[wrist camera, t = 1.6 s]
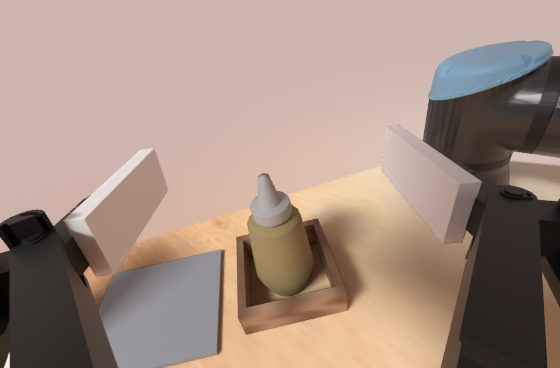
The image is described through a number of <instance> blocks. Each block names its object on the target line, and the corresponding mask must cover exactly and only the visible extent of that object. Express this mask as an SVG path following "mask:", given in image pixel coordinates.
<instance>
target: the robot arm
mask: <svg viewBox="0 0 560 368" xmlns="http://www.w3.org/2000/svg"><path fill="white" fill-rule="evenodd" d="M552 54H553V50H552V46H551V44H550V43H548V42H544V41H529V42H527V41H514V42H505V43H499V44H492V45H487V46H482V47H478V48H474V49H470V50H466V51H464V52H460V53H457V54H455V55H453V56H451V57H449V58H447V59H446V60H444V61H443V62H442V63H441V64H440V65H439V66H438V67H437V69H436V71H435V74H434V78H433V83H432V87H431V91H430V92H429V95H428V97H429V104H428V111H427V117H426V124H425V130H424V137H423V141H422V140H420V139H419V138H418V137H416V136H415V135H413V134H412V133H410V132H409V131H407V130H406V129H404V128H403V127H401V126H400V125H394V126H386V129H385V138H384V146H383V155H382V164H381V171H382V172H383V173H384V174H385V176H386V177H387V178H388V179H389V180H390V182H391V183H392V184H393V185H394V186H395V188H396V189H397V190H398V191H399V192H400V193H401V195H402V196H403V197H404V198H405V199H406V201H407V202H408V203H409V204H410V205H411V207H412V208H413V209H414V210H415V211H416V213H417V214H418V215H419V216H420V217H421V219H422V220H423V221H424V222H425V223H426V225H427V226H428V227H429V228H430V229H431V231H432V232H433V233H434V234H435V235H436V237H437V238H438V239H439V240H440V241H441V242H442V244H448V243H459V242H462V241H463V238H464V235H465V232H466V230H467V231H468V232H469V233H470V234H471V235H472V236H473V238H472V241H471V244H470V247H469V250H468V253H467V255H466V258H465V259H467V261H466V265H465V269H464V273H463V277H462V282H461V286H460V290H459V294H458V298H457V302H456V307H455V311H454V315H453V319H452V323H451V327H450V332H449V336H448V340H447V344H446V348H445V352H444V357H443V361H442V365H441V368H547V354H546V336H545V319H544V301H543V283H542V272H543V274H544V276H545V278H546V280H547V282H548V284H549V286H550V288H551V291H552V293H553V295H554V297H555V299H556V301H557V303H558V305H559V307H560V199H559V201H546V200H538V199H537V197H536V195H534V194H533V193H531V192H530V191H527V190H525V189H523V188H519V187H515V186H510V185H509V161H510V158H511V156H512V153H513V151H514V152H522V153H529V154H538V155H544V156H551V157H558V158H560V56H552ZM167 191H168V188H167V185H166V182H165V179H164V176H163V173H162V170H161V167H160V164H159V161H158V158H157V155H156V152H155V149H154V148H152V149H142V150H140V151H139V152H138V153H137V154H135V155H134V156H133V157H132V158H131V159H130V160H129V161H128V162H127V163H126V164H124V165H123V166H122V167H121V168H120V169H119V170H118V171H117V172H116V173H115V174H114V175H112V176H111V177H110V178H109V179H108V180H107V181H106V182H105V183H104V184H103V185H101V186H100V187H99V188H98V189H97V190H96V191H95V192H94V193H93V194H92V195H90V196H89V197H87V198H85V199H83V200H82V201H81V202H80V203H79V204H78V205H77V206H76V207H75V208H74V209H72V210H71V211H70V213H68V214H67V215H66V216H65V217H63V218H62V219H61V220H60V221H59V222H58V223H57V224H56V225H55V226H53V225H52V223H51V222H50V220H49V218H48V217H47V215H46V214H45V212H44V211H43V210H30V211H26V212H23V213H20V214H18V215H15V216H12V217H10V218H9V219H7V220H5V221H3V222H2V223H1V224H0V237H1V239H2V240H3V241H4V243H6V245H7V246H8V248H9V249H10V251H7V252H3V253H0V368H4V367H5V364H6V361H7V358H8V355H9V352H10V368H118V365H117V363H116V360H115V357H114V354H113V351H112V348H111V346H110V343H109V340H108V337H107V334H106V331H105V328H104V326H103V323H102V320H101V317H100V314H99V311H98V309H97V306H96V303H95V300H94V297H93V294H92V292H91V289H90V286H89V283H88V280H87V278H86V277H85V275H84V274H83V273H84V272H85V270H86V269H87V268H88V266H90V268H91V269H92V271H93V273H94V274H95V276H104V275H115V273H116V272H117V270H118V269H119V267H120V266H121V264H122V262H123V261H124V259H125V258H126V256H127V254H128V253H129V251H130V250H131V248H132V247H133V245H134V243H135V242H136V240H137V239H138V237H139V236H140V234H141V232H142V231H143V229H144V228H145V226H146V224H147V223H148V221H149V220H150V218H151V217H152V215H153V213H154V212H155V210H156V209H157V207H158V205H159V204H160V202H161V201H162V199H163V198H164V196H165V194H166V193H167Z"/></svg>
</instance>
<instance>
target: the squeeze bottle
mask: <svg viewBox="0 0 560 368" xmlns="http://www.w3.org/2000/svg"><path fill="white" fill-rule="evenodd" d="M250 209H251V213H252V215H251V216H250V217H249V220H248V223H247V225H248V230H249V236H250V241H251V246H252V252H253V257H254V262H255V267H256V272H257V276H258V277H259V279H260V280H261V281H262V282H263V283H264V284H265V285H266V286H267V287H268V288H269V289H271V290H272V291H273V292H274V293H276V294H278V295H280V296H292V295H295V294H298V293H299V292H300V291H302V290H303V289H304V288H305V286H306V284H307V282H308V280H309V277H310V275H311V272H312V270H313V261H314V257H313V254H312V251H311V248H310V244H309V241H308V238H307V234H306V231H305V228H304V225H303V221H302V218H301V215H300V213H299V211H298V209H297V208H296V207H294V206H293V205H291V203H290V199H289V197H288V195H286V194H284V193H283V192H280V191H276V189H275V187H274V185H273V183H272V181H271V179H270V177H269V175H268V174H261V175H259V176H258V196H257V197H255V199H254V200H253V201H252V202H251V205H250Z"/></svg>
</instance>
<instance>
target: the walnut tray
mask: <svg viewBox="0 0 560 368" xmlns="http://www.w3.org/2000/svg"><path fill="white" fill-rule="evenodd" d="M303 225H304V228H305V231H306V234H307V238H308V241H309V243H313V242H316V245H317V248H318V250H319V253H320V256H321V259H322V262H323V265H324V268H325V271H326V273H327V276H328V279H329V282H330V285H331V288H328V289H324V290H320V291H315V292H311V293H307V294H303V295H298V296H294V297H290V298H286V299H282V300H277V301H273V302H269V303H265V304H260V305H256V306H252V294H251V279H250V264H249V257H253V252H252V246H251V241H250V236H249V234H248V235H244V236H239V237H236V240H237V293H238V319H239V321H240V323H241V325H242V327H243V329H244V331H245V333H246V335H247V334H251V333H255V332H259V331H263V330H268V329H272V328H276V327H280V326H284V325H288V324H293V323H297V322H301V321H305V320H309V319H314V318H318V317H322V316H326V315H330V314H334V313H339V312H343V311H347V310H348V303H347V291H346V288H345V286H344V283H343V281H342V278H341V275H340V273H339V270H338V268H337V265H336V263H335V260H334V258H333V255H332V253H331V250H330V248H329V245H328V243H327V240H326V238H325V235H324V233H323V230H322V228H321V225H320V223H319V220H318V219H313V220H309V221H305V222H303Z"/></svg>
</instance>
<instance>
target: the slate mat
mask: <svg viewBox="0 0 560 368" xmlns="http://www.w3.org/2000/svg"><path fill="white" fill-rule="evenodd" d="M221 266H222V251H221V250H216V251H212V252H208V253H203V254H199V255H195V256H190V257H186V258H182V259H177V260H173V261H169V262H164V263H160V264H156V265H151V266H147V267H143V268H138V269H134V270H130V271H125V272H121V273H116V274H115V275H113V277H112V280H111V282H110V284H109V287H108V289H107V291H106V294H105V296H104V298H103V300H102V303H101V305H100V307H99V310H98V311H99V314H100V317H101V320H102V323H103V326H104V328H105V331H106V334H107V337H108V340H109V343H110V346H111V348H112V351H113V354H114V357H115V360H116V363H117V365H118V368H163V367H167V366H171V365H176V364H180V363H184V362H188V361H192V360H196V359H201V358H205V357H209V356H213V355H217V354H218V341H219V316H220V291H221Z"/></svg>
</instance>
